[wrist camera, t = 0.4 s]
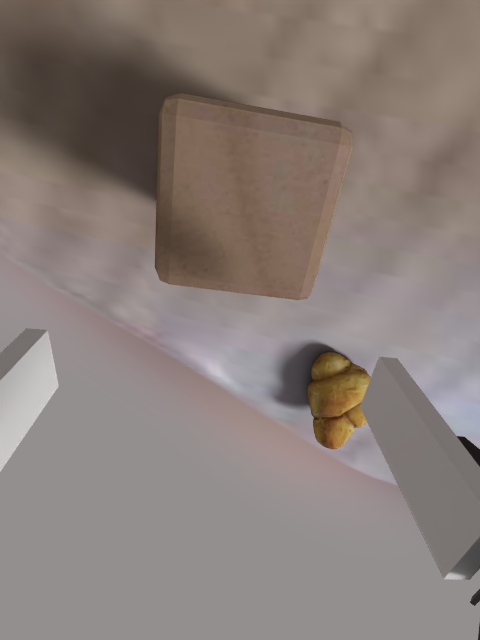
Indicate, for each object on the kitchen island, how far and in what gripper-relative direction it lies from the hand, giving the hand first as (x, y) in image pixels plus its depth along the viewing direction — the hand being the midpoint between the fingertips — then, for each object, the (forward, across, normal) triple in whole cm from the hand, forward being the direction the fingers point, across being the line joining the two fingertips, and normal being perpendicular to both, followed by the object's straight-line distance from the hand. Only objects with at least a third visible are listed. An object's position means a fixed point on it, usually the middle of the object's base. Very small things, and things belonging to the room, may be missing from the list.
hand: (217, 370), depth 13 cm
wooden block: (+28, +1, +5) cm, 28 cm away
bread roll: (+28, +19, -21) cm, 40 cm away
